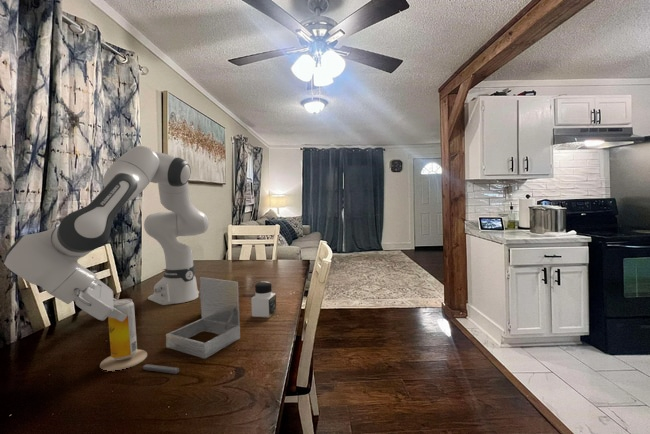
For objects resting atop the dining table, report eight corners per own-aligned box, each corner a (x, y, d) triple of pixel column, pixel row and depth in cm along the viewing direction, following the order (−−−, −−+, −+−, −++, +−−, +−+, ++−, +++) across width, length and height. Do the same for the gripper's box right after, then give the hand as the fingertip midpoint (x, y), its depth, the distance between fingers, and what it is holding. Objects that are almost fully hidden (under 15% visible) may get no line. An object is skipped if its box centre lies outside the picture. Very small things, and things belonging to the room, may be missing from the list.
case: (166, 347, 93) (163, 288, 92) (203, 329, 106) (201, 277, 105) (205, 358, 86) (202, 294, 85) (240, 338, 99) (238, 281, 98)
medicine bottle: (269, 317, 115) (268, 285, 114) (251, 316, 116) (250, 285, 116) (276, 310, 122) (275, 280, 121) (259, 310, 123) (258, 280, 123)
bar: (143, 371, 82) (142, 366, 81) (146, 368, 83) (146, 364, 83) (176, 375, 79) (175, 370, 79) (179, 372, 80) (179, 367, 80)
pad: (90, 365, 84) (90, 364, 84) (131, 347, 94) (131, 346, 94) (115, 375, 79) (115, 373, 79) (155, 355, 89) (155, 354, 89)
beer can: (119, 350, 89) (115, 299, 88) (141, 349, 90) (137, 297, 89) (106, 361, 83) (101, 306, 82) (130, 360, 84) (126, 305, 83)
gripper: (84, 284, 72) (135, 315, 78) (89, 268, 89) (131, 295, 95) (60, 307, 70) (115, 337, 76) (70, 287, 87) (114, 313, 93)
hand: (124, 314), depth 86 cm, fingers closed on beer can, 6 cm apart
